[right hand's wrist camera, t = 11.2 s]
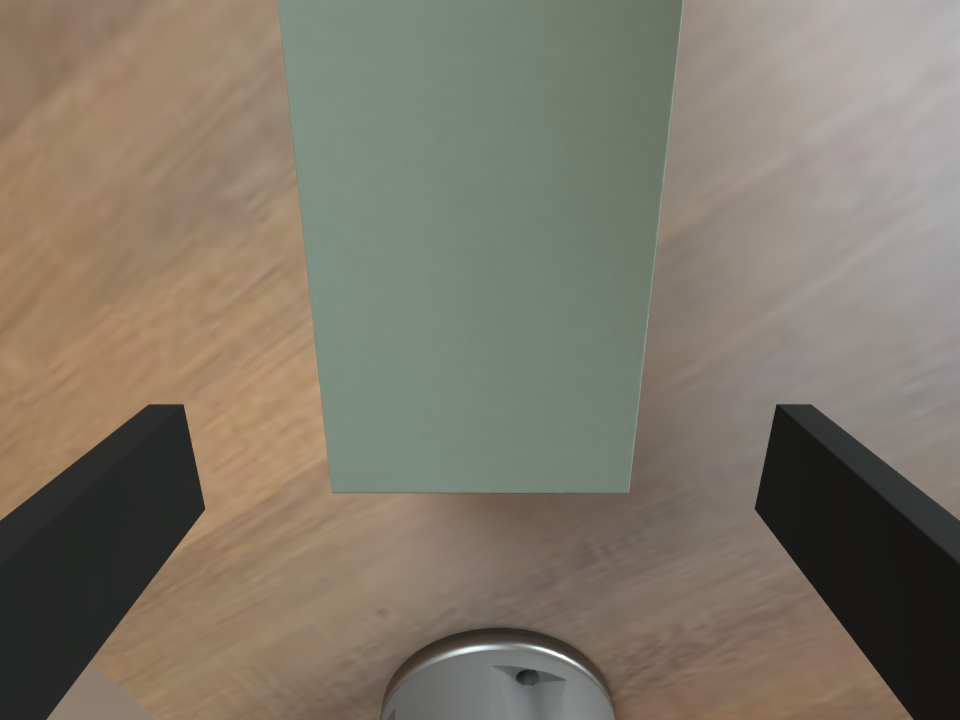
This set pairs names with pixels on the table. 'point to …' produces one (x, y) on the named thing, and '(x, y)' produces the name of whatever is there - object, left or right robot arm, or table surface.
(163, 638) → the table surface
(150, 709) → the table surface
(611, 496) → the table surface
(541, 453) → the sage green box
